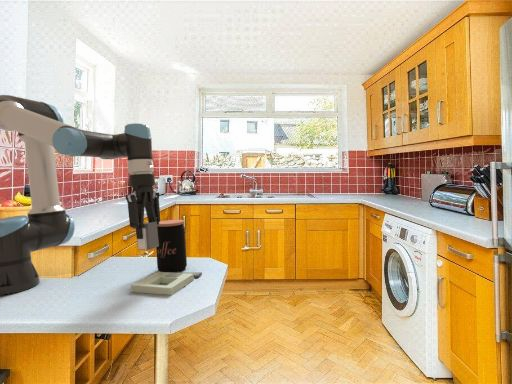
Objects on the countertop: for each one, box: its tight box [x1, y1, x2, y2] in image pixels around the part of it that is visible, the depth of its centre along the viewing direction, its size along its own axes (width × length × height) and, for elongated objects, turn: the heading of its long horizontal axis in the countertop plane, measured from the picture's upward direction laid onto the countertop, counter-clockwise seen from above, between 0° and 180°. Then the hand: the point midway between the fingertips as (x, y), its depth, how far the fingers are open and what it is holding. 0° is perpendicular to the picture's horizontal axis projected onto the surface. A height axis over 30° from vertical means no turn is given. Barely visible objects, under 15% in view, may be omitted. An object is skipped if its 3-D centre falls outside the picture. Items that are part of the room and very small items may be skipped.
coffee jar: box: [155, 219, 188, 273], centre depth 110 cm, size 11×11×18 cm
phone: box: [181, 271, 203, 279], centre depth 102 cm, size 7×4×1 cm, turn 82°
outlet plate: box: [130, 271, 195, 296], centre depth 94 cm, size 14×13×2 cm
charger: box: [136, 221, 159, 251], centre depth 94 cm, size 4×4×8 cm
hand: (148, 246), depth 94 cm, fingers closed on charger, 4 cm apart
